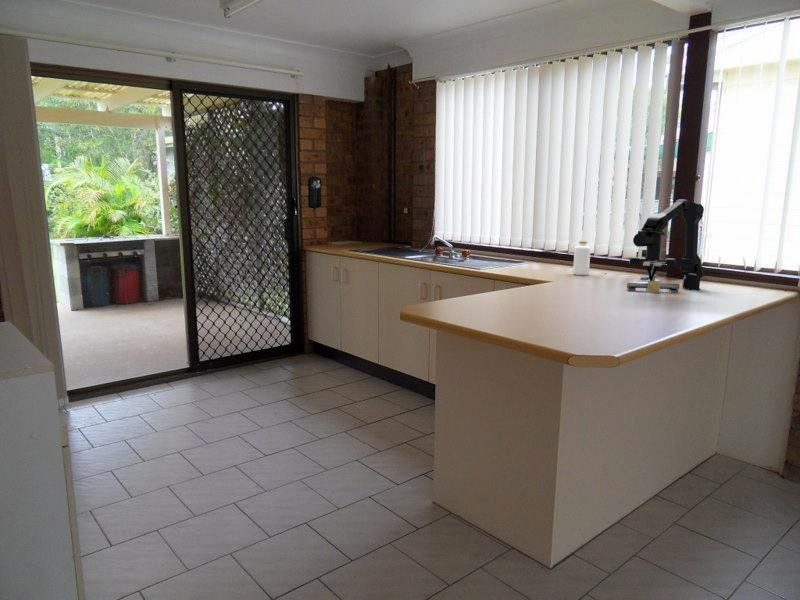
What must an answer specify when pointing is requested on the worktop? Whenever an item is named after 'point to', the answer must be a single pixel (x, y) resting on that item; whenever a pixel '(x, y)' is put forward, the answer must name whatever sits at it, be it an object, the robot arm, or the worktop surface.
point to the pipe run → (653, 286)
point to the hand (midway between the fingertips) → (650, 280)
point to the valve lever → (647, 277)
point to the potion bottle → (581, 259)
